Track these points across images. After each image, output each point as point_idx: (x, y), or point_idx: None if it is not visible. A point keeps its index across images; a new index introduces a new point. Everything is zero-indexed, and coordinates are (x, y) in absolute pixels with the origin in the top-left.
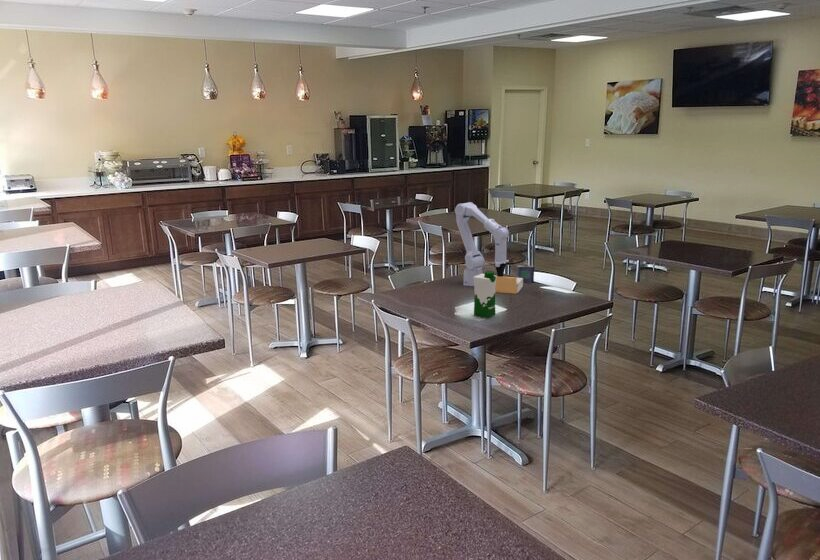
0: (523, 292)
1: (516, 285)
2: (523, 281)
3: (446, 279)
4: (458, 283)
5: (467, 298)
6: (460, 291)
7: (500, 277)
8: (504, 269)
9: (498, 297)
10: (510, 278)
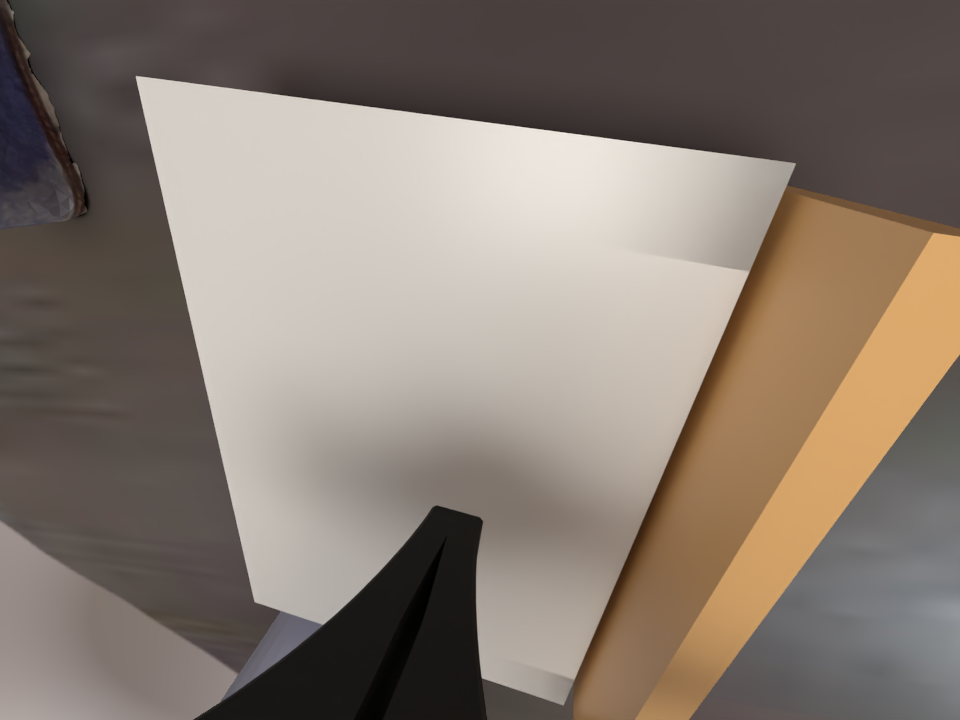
0: (585, 42)
1: (793, 193)
2: (31, 113)
3: None
4: None
5: (871, 704)
6: None
7: (739, 640)
8: (329, 637)
9: (896, 439)
10: (868, 437)
